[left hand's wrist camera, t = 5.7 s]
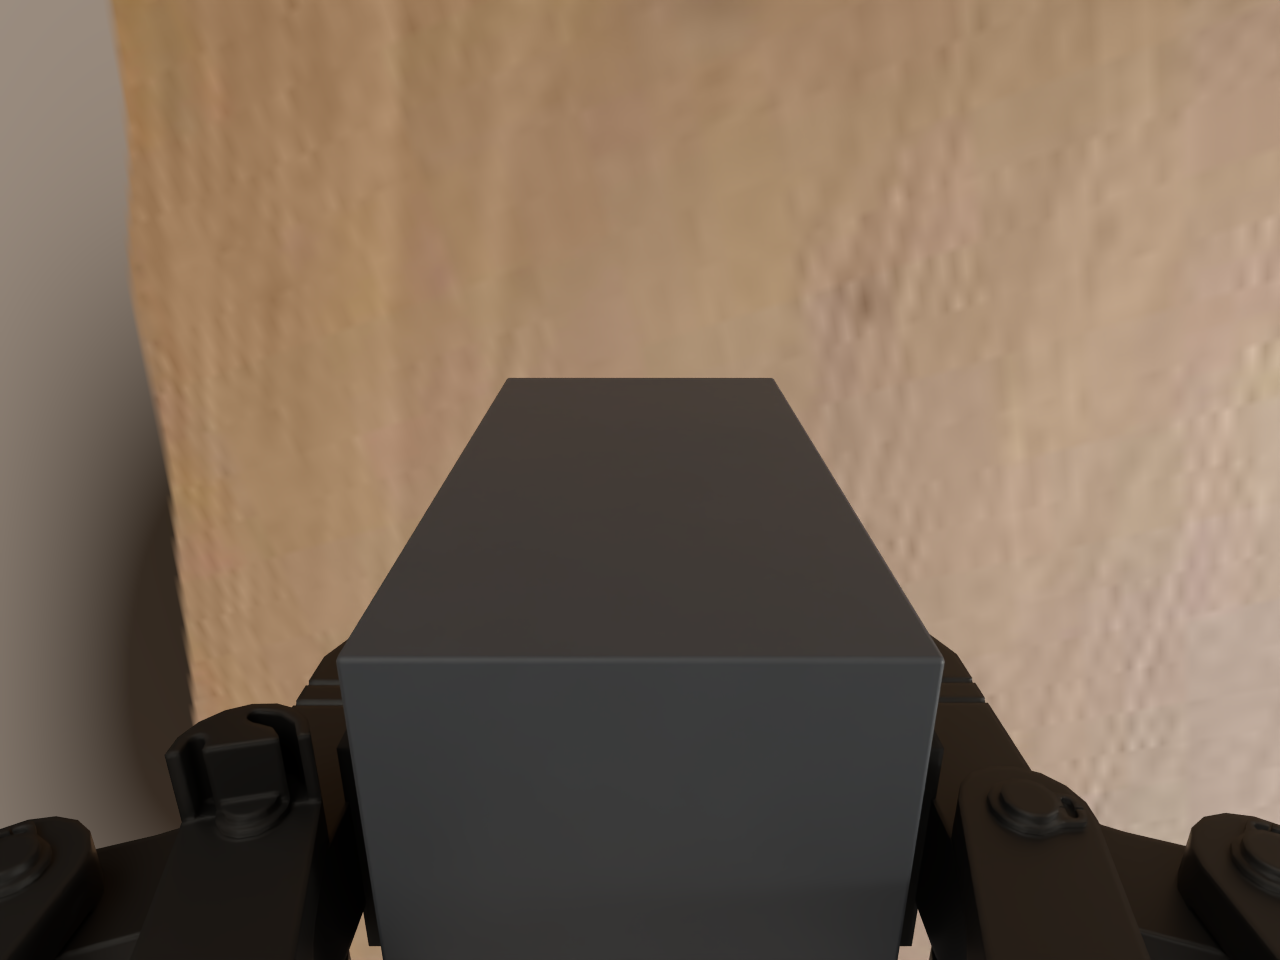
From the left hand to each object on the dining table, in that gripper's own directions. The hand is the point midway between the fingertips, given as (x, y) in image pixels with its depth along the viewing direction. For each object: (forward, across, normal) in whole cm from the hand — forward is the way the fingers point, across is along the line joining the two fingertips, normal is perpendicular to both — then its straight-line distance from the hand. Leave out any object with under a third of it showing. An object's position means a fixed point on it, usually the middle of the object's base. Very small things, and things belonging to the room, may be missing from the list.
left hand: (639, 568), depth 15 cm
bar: (+1, 0, -10) cm, 10 cm away
